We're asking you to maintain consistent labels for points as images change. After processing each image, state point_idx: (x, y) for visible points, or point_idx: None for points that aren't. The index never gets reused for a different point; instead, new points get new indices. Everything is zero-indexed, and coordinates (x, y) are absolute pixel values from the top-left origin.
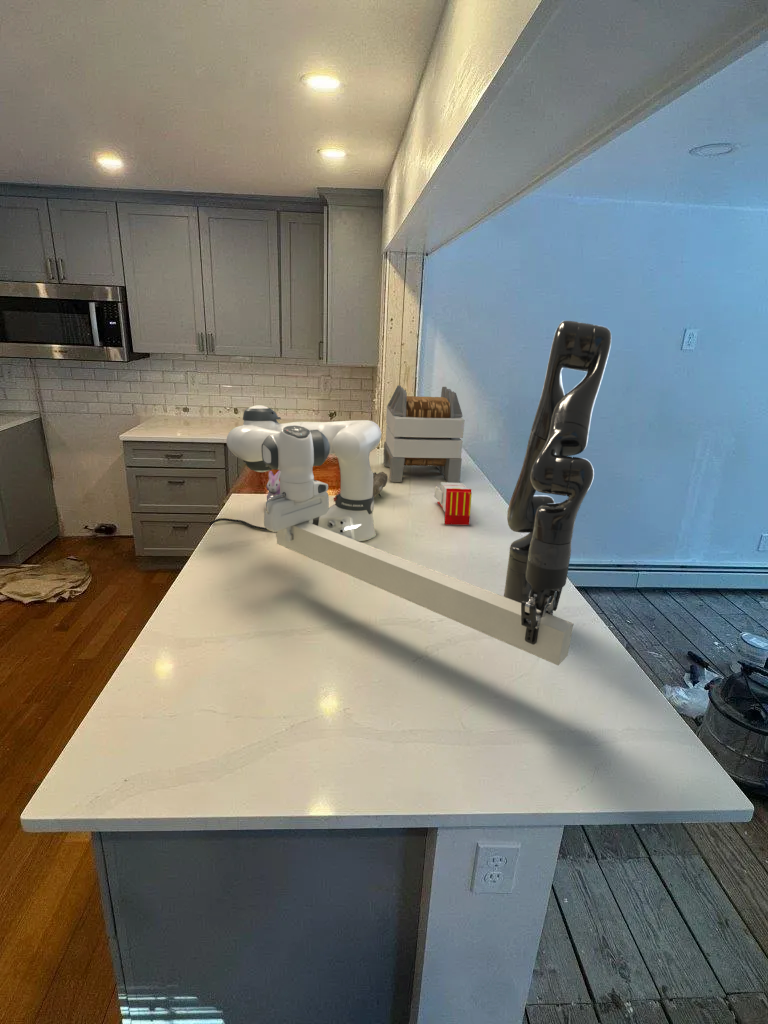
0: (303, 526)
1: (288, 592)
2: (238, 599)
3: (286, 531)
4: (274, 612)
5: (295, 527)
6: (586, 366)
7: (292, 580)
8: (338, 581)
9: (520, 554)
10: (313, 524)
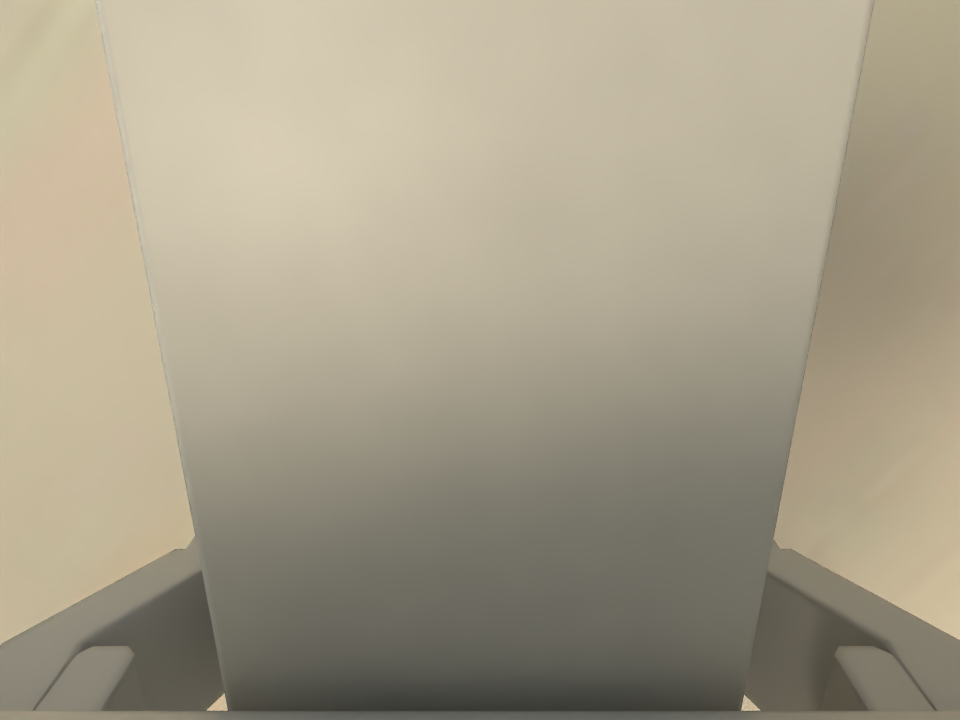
0: (589, 502)
1: None
2: (875, 429)
3: (946, 643)
4: (887, 102)
5: (746, 629)
6: None
7: None
8: None
9: None
10: (186, 404)
